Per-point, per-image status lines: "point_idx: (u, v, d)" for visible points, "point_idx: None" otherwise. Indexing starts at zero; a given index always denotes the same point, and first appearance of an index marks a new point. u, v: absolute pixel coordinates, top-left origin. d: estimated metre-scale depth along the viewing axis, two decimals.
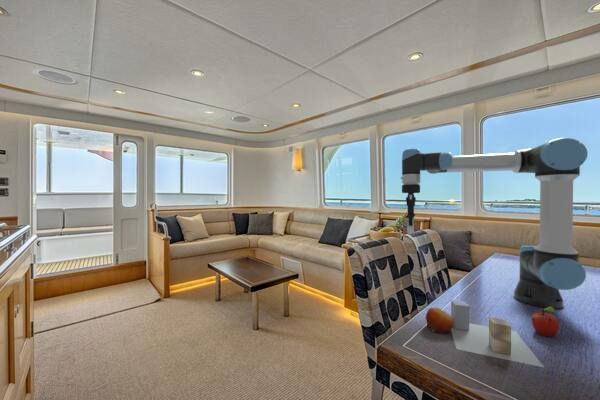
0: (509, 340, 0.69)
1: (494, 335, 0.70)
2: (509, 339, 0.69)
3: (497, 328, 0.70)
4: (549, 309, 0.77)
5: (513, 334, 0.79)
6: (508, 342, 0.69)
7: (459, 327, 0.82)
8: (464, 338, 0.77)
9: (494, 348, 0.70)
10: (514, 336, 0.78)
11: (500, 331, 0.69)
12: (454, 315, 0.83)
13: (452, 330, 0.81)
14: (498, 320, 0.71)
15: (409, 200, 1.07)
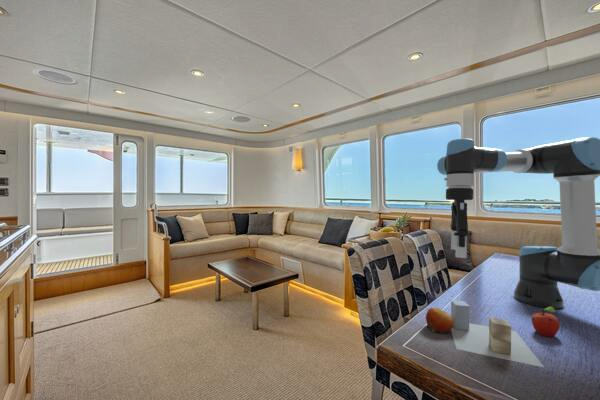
0: (509, 340, 0.69)
1: (494, 335, 0.70)
2: (509, 339, 0.69)
3: (497, 328, 0.70)
4: (549, 309, 0.77)
5: (513, 334, 0.79)
6: (508, 342, 0.69)
7: (459, 327, 0.82)
8: (464, 338, 0.77)
9: (494, 348, 0.70)
10: (514, 336, 0.78)
11: (500, 331, 0.69)
12: (454, 315, 0.83)
13: (452, 330, 0.81)
14: (498, 320, 0.71)
15: (460, 210, 0.76)
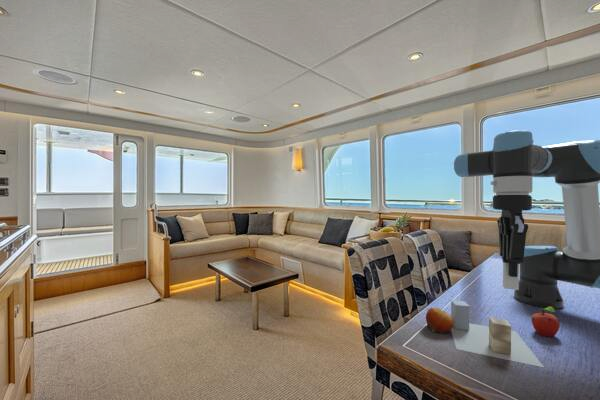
0: (509, 340, 0.69)
1: (494, 335, 0.70)
2: (509, 339, 0.69)
3: (497, 328, 0.70)
4: (549, 309, 0.77)
5: (513, 334, 0.79)
6: (508, 342, 0.69)
7: (459, 327, 0.82)
8: (464, 338, 0.77)
9: (494, 348, 0.70)
10: (514, 336, 0.78)
11: (500, 331, 0.69)
12: (454, 315, 0.83)
13: (452, 330, 0.81)
14: (498, 320, 0.71)
15: (516, 234, 0.59)
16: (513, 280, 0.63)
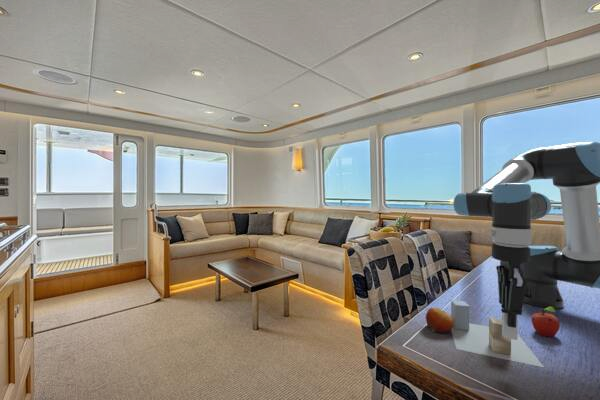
0: (509, 340, 0.69)
1: (494, 335, 0.70)
2: (509, 339, 0.69)
3: (497, 328, 0.70)
4: (549, 309, 0.77)
5: None
6: (508, 342, 0.69)
7: (459, 327, 0.82)
8: (464, 338, 0.77)
9: (494, 348, 0.70)
10: None
11: (500, 331, 0.69)
12: (454, 315, 0.83)
13: (452, 330, 0.81)
14: (498, 320, 0.71)
15: (515, 288, 0.60)
16: (512, 330, 0.63)
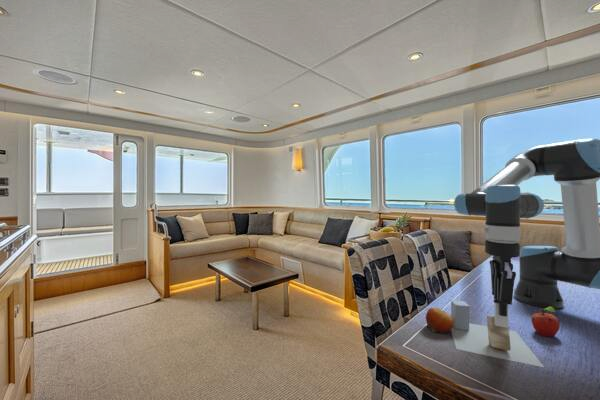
0: (507, 334, 0.70)
1: (492, 329, 0.71)
2: (507, 333, 0.70)
3: None
4: (549, 309, 0.77)
5: (513, 334, 0.79)
6: (506, 336, 0.70)
7: (459, 327, 0.82)
8: (464, 338, 0.77)
9: (494, 343, 0.70)
10: (514, 336, 0.78)
11: None
12: (454, 315, 0.83)
13: (452, 330, 0.81)
14: None
15: (505, 280, 0.66)
16: (503, 318, 0.70)
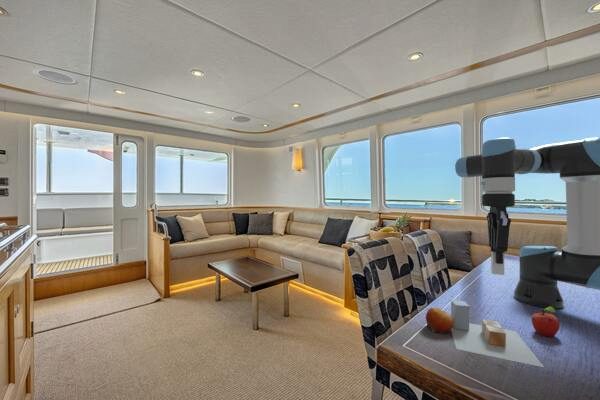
0: (500, 327, 0.76)
1: (486, 323, 0.78)
2: (499, 326, 0.76)
3: (486, 321, 0.79)
4: (549, 309, 0.77)
5: (513, 334, 0.79)
6: (499, 327, 0.75)
7: (459, 327, 0.82)
8: (464, 338, 0.77)
9: (489, 329, 0.74)
10: (514, 336, 0.78)
11: (490, 322, 0.78)
12: (454, 315, 0.83)
13: (452, 330, 0.81)
14: None
15: (501, 227, 0.69)
16: (499, 267, 0.73)
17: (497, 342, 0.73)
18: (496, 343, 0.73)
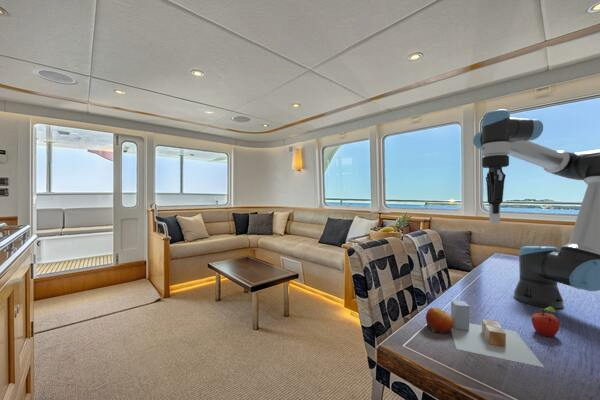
0: (500, 327, 0.76)
1: (486, 323, 0.78)
2: (499, 326, 0.76)
3: (486, 321, 0.79)
4: (549, 309, 0.77)
5: (513, 334, 0.79)
6: (499, 327, 0.75)
7: (459, 327, 0.82)
8: (464, 338, 0.77)
9: (489, 329, 0.74)
10: (514, 336, 0.78)
11: (490, 322, 0.78)
12: (454, 315, 0.83)
13: (452, 330, 0.81)
14: None
15: (497, 182, 0.85)
16: (496, 216, 0.89)
17: (497, 342, 0.73)
18: (496, 343, 0.73)
